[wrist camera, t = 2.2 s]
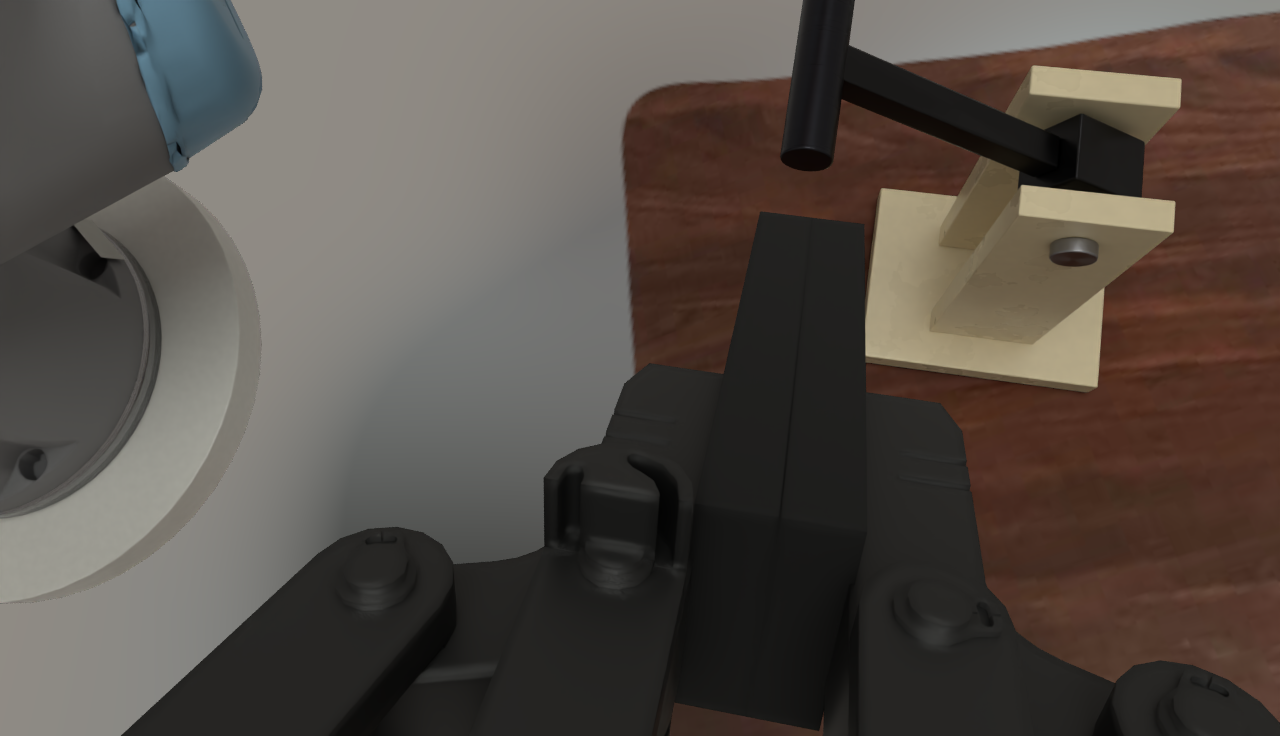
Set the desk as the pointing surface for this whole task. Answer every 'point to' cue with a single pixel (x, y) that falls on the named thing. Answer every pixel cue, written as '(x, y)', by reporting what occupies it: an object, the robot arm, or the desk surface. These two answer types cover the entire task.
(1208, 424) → the desk surface
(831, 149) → the lever
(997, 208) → the bracket
